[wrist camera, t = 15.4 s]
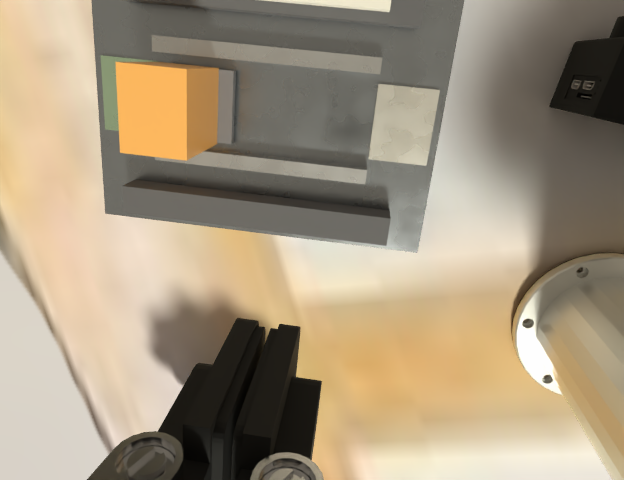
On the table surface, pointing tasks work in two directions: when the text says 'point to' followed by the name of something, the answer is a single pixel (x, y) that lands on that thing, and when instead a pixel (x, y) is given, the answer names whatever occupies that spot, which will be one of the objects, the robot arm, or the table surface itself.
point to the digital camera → (594, 78)
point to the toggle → (174, 108)
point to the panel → (293, 106)
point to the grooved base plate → (270, 209)
